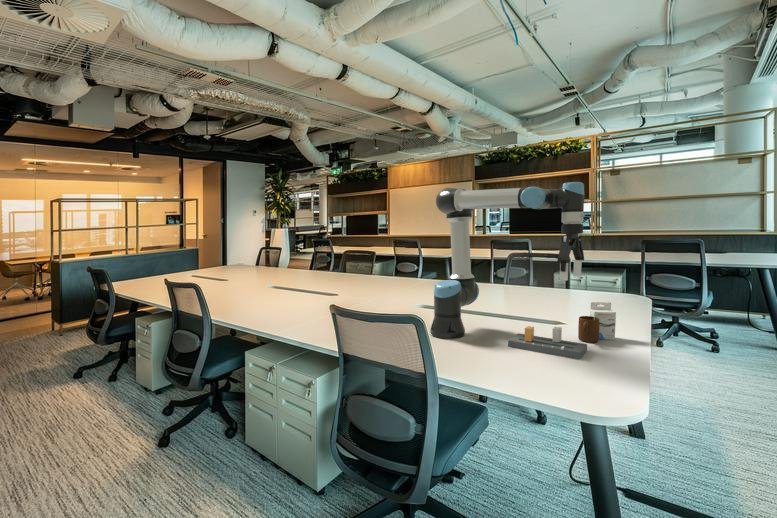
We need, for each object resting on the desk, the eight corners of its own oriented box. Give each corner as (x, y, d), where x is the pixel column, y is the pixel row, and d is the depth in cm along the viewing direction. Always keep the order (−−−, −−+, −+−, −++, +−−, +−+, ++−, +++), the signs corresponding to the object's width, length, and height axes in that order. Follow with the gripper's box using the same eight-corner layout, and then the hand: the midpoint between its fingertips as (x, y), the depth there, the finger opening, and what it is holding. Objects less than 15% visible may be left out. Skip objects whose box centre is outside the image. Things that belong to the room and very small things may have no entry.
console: (507, 346, 151) (507, 338, 151) (518, 339, 161) (518, 331, 161) (579, 359, 136) (580, 350, 135) (586, 350, 145) (587, 342, 145)
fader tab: (524, 340, 149) (524, 328, 149) (527, 338, 152) (527, 326, 152) (530, 341, 148) (531, 328, 148) (533, 339, 151) (533, 326, 150)
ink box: (593, 339, 159) (594, 304, 157) (588, 336, 163) (589, 302, 162) (615, 340, 157) (616, 304, 156) (610, 336, 162) (611, 302, 161)
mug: (595, 347, 149) (595, 323, 148) (573, 343, 153) (574, 320, 152) (600, 339, 158) (601, 317, 157) (580, 336, 163) (580, 314, 162)
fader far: (552, 341, 148) (552, 328, 147) (554, 339, 151) (555, 326, 150) (559, 342, 146) (559, 329, 146) (561, 340, 149) (561, 327, 149)
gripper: (569, 223, 136) (568, 282, 137) (594, 223, 153) (592, 275, 155) (548, 223, 141) (547, 280, 143) (574, 223, 158) (572, 274, 160)
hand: (570, 278), depth 149 cm, fingers open, 13 cm apart
